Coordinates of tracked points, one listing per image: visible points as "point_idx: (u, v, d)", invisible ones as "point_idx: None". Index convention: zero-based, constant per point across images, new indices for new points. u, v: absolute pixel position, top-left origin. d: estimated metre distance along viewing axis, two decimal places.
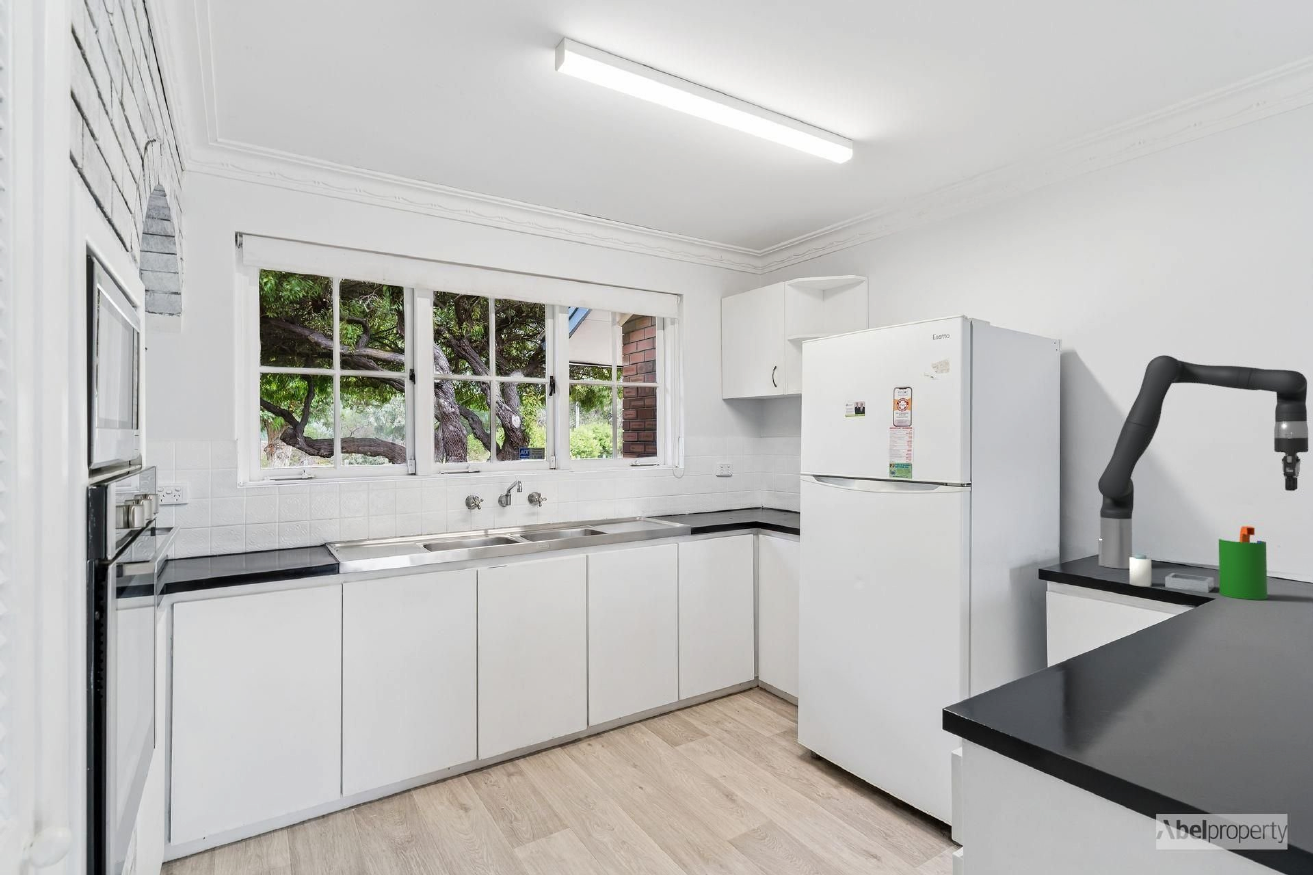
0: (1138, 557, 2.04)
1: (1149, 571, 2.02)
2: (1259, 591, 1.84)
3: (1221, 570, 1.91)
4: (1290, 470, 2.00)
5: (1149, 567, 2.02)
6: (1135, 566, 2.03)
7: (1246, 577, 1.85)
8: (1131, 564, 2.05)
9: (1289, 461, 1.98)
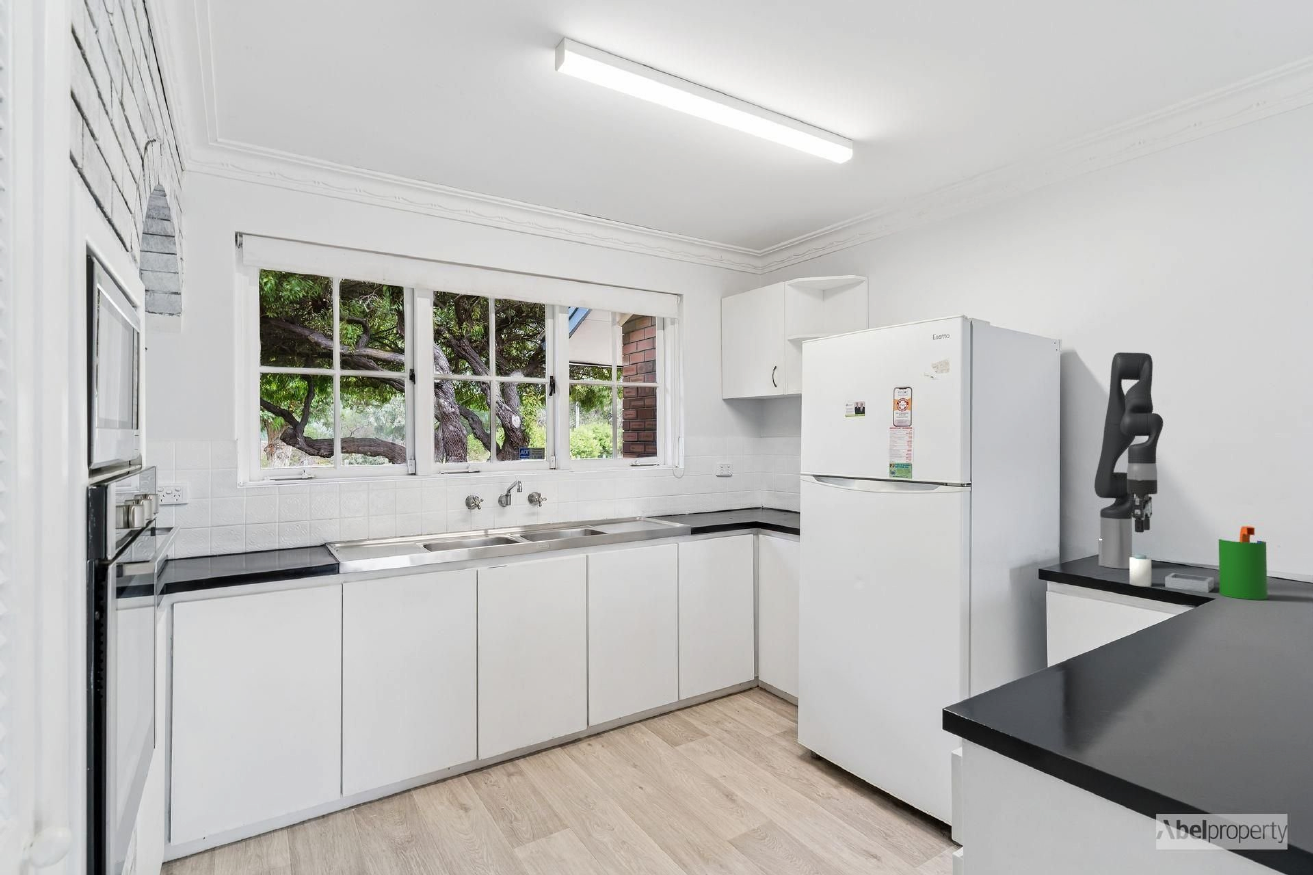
0: (1138, 557, 2.04)
1: (1149, 571, 2.02)
2: (1259, 591, 1.84)
3: (1221, 570, 1.91)
4: (1139, 512, 2.02)
5: (1149, 567, 2.02)
6: (1135, 566, 2.03)
7: (1246, 577, 1.85)
8: (1131, 564, 2.05)
9: (1137, 503, 2.00)
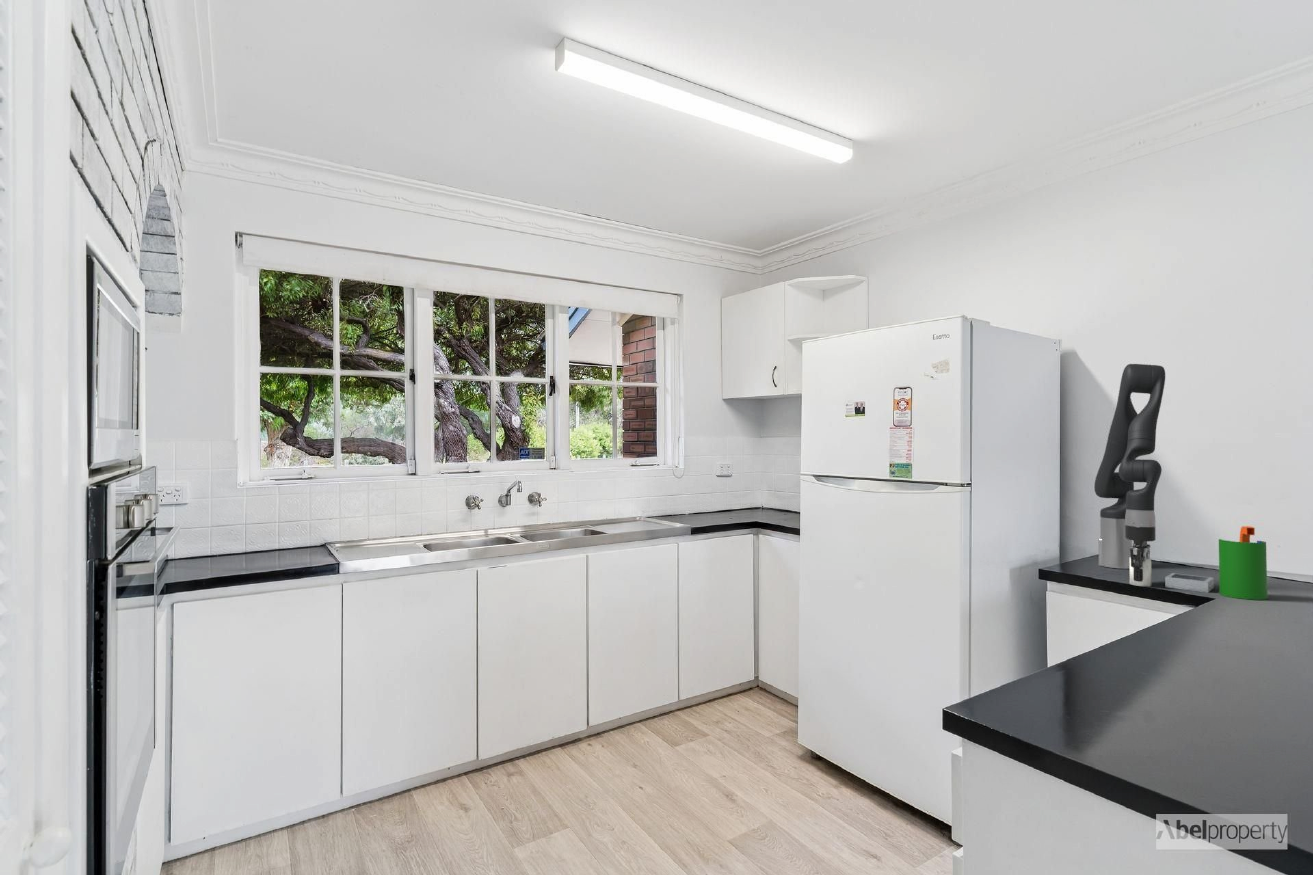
0: None
1: (1149, 571, 2.02)
2: (1259, 591, 1.84)
3: (1221, 570, 1.91)
4: (1138, 560, 2.03)
5: (1149, 567, 2.02)
6: None
7: (1246, 577, 1.85)
8: None
9: (1135, 554, 2.00)
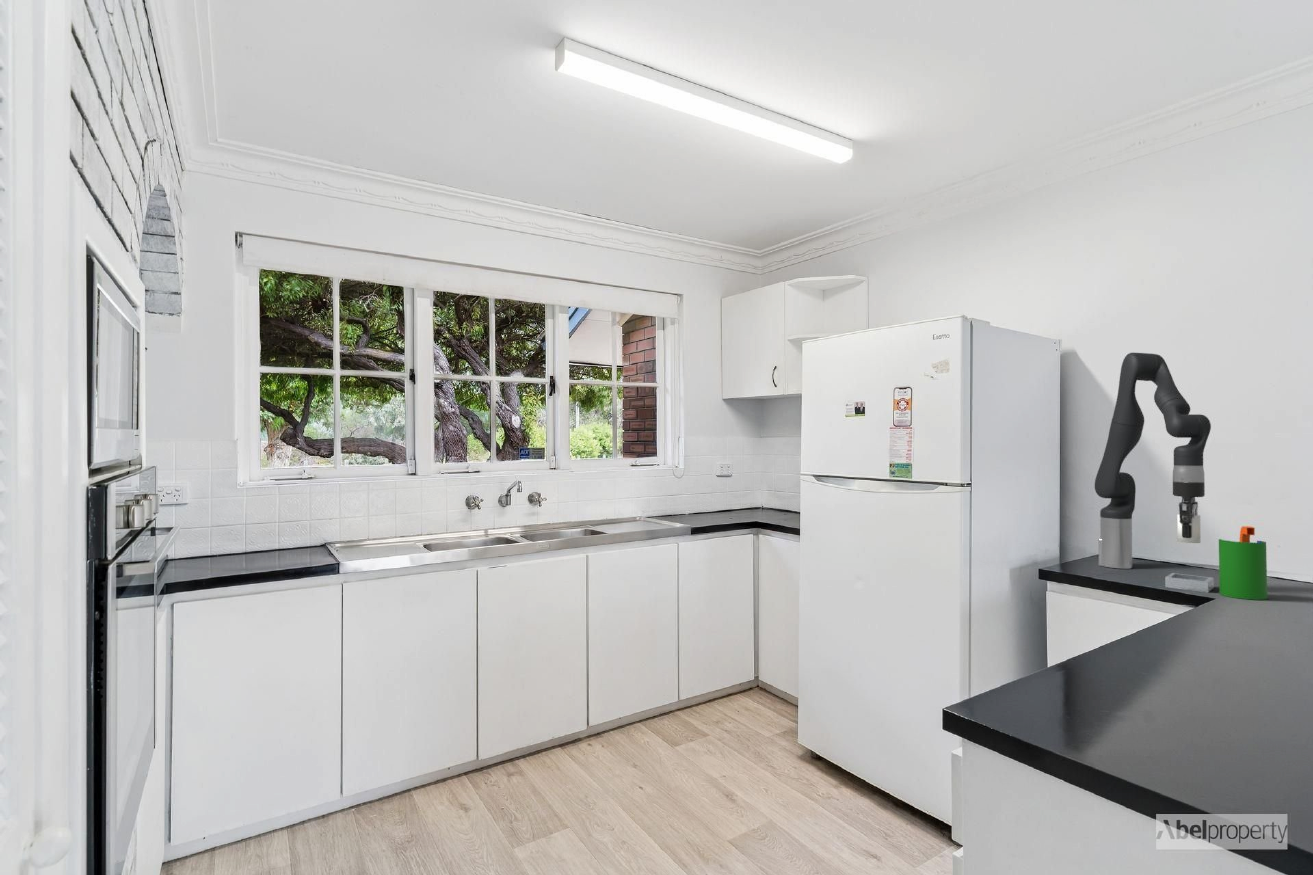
0: None
1: (1198, 527, 1.99)
2: (1259, 591, 1.84)
3: (1221, 570, 1.91)
4: (1186, 516, 1.99)
5: (1198, 523, 1.99)
6: None
7: (1246, 577, 1.85)
8: None
9: (1184, 509, 1.97)
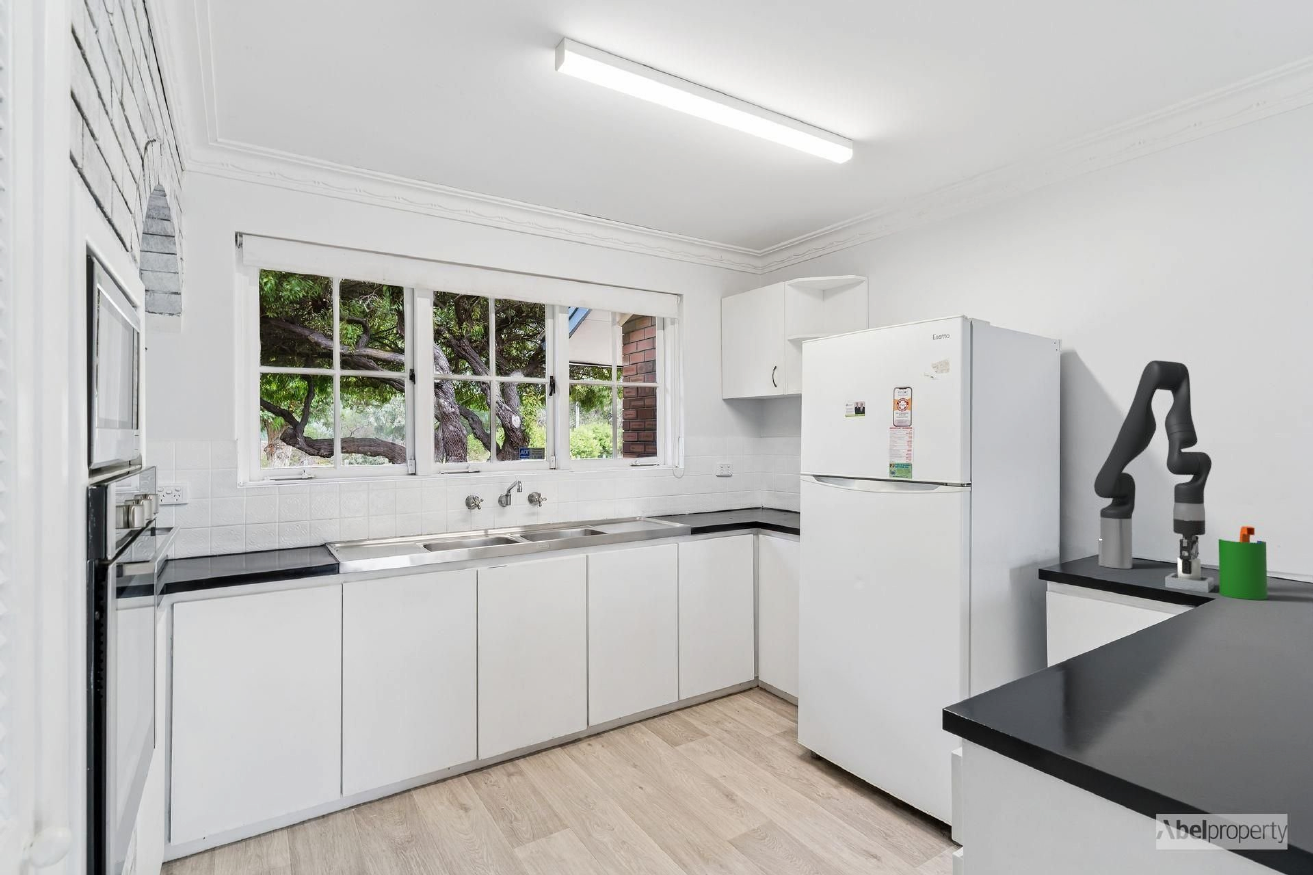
0: None
1: (1199, 571, 1.98)
2: (1259, 591, 1.84)
3: (1221, 570, 1.91)
4: (1187, 553, 1.98)
5: (1198, 567, 1.98)
6: None
7: (1246, 577, 1.85)
8: (1179, 564, 2.01)
9: (1185, 545, 1.96)
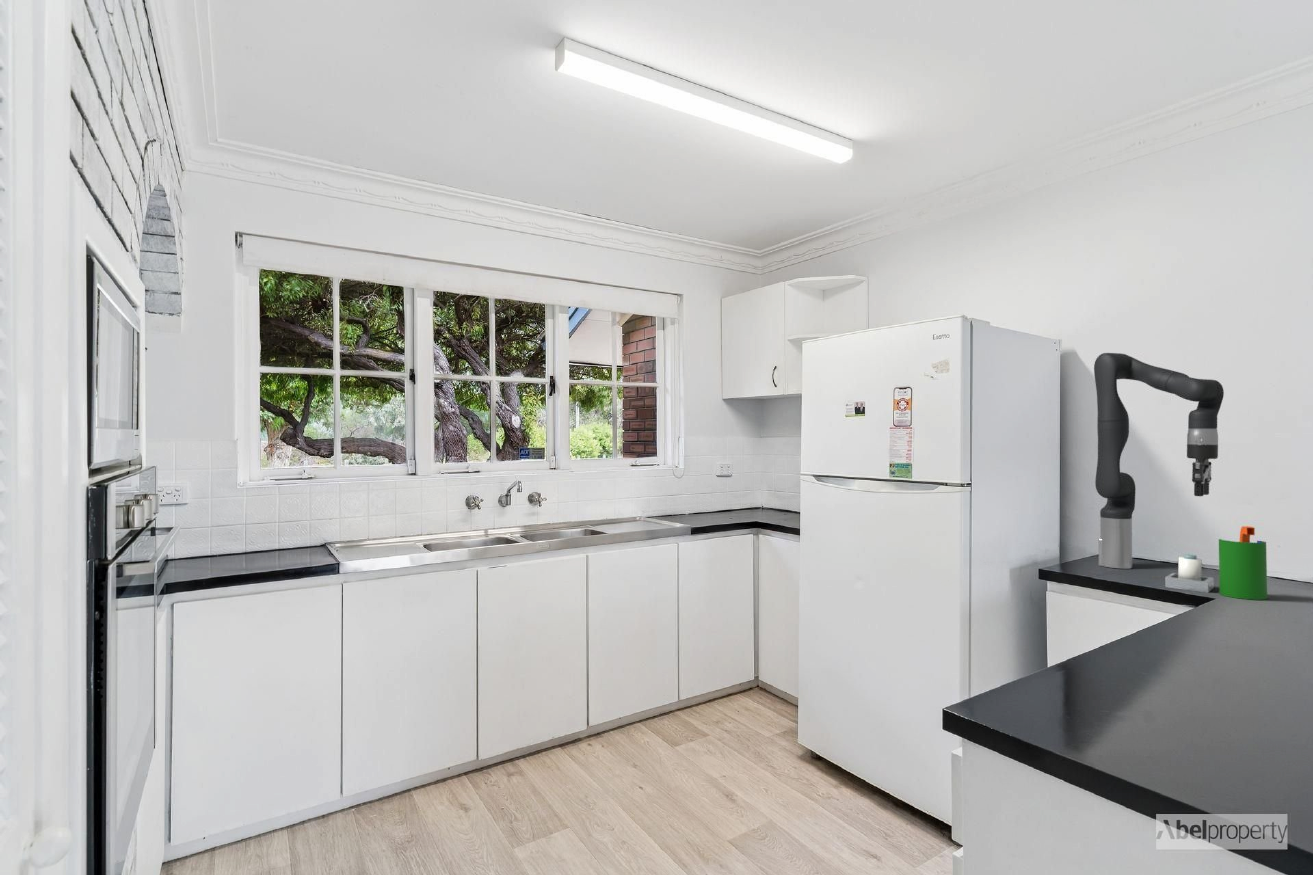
0: (1188, 557, 2.00)
1: (1199, 571, 1.98)
2: (1259, 591, 1.84)
3: (1221, 570, 1.91)
4: (1199, 476, 2.05)
5: (1199, 567, 1.98)
6: (1185, 566, 2.00)
7: (1246, 577, 1.85)
8: (1180, 564, 2.01)
9: (1197, 467, 2.03)
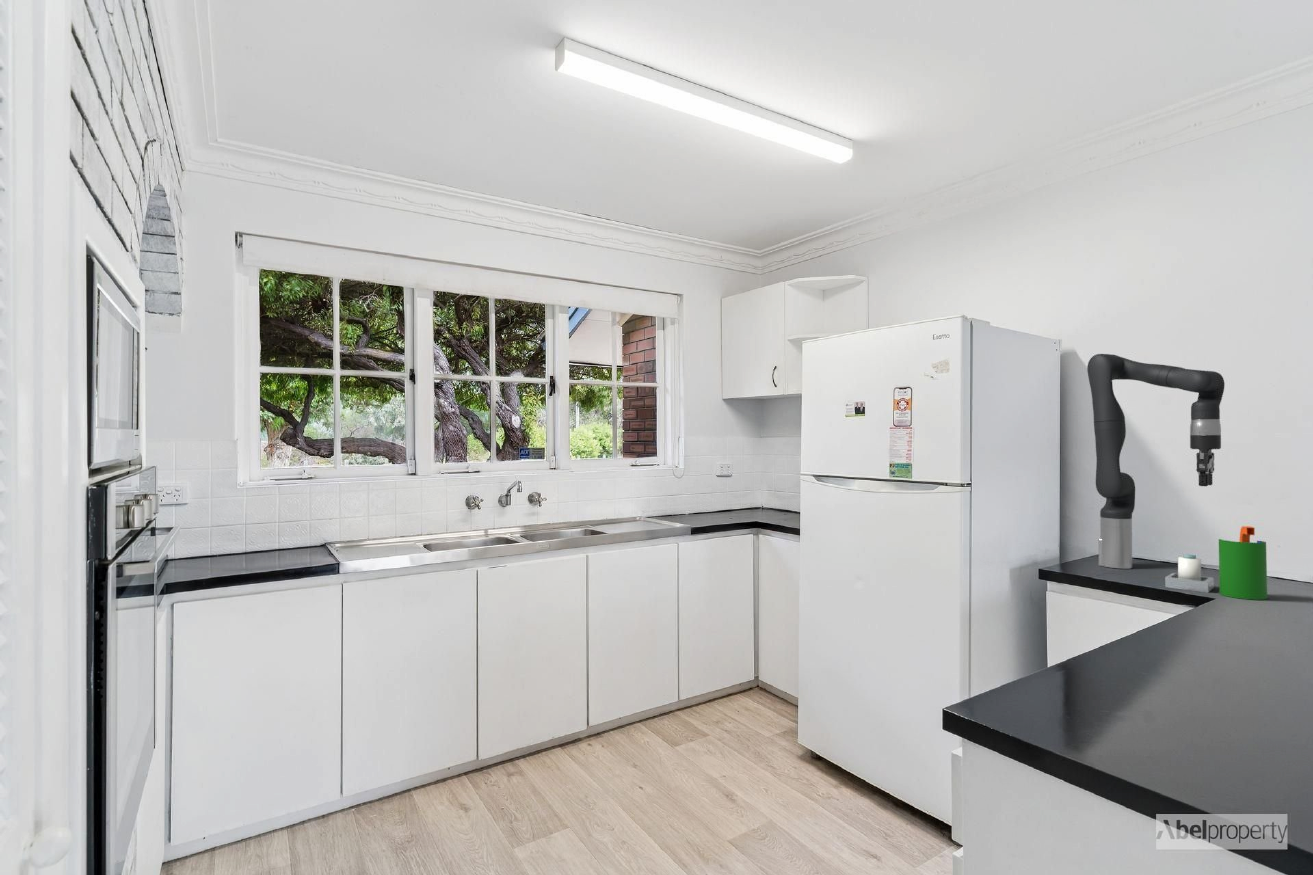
0: (1187, 557, 2.00)
1: (1199, 571, 1.98)
2: (1259, 591, 1.84)
3: (1221, 570, 1.91)
4: (1203, 466, 2.07)
5: (1198, 567, 1.98)
6: (1184, 566, 2.00)
7: (1246, 577, 1.85)
8: (1179, 564, 2.01)
9: (1201, 458, 2.05)
